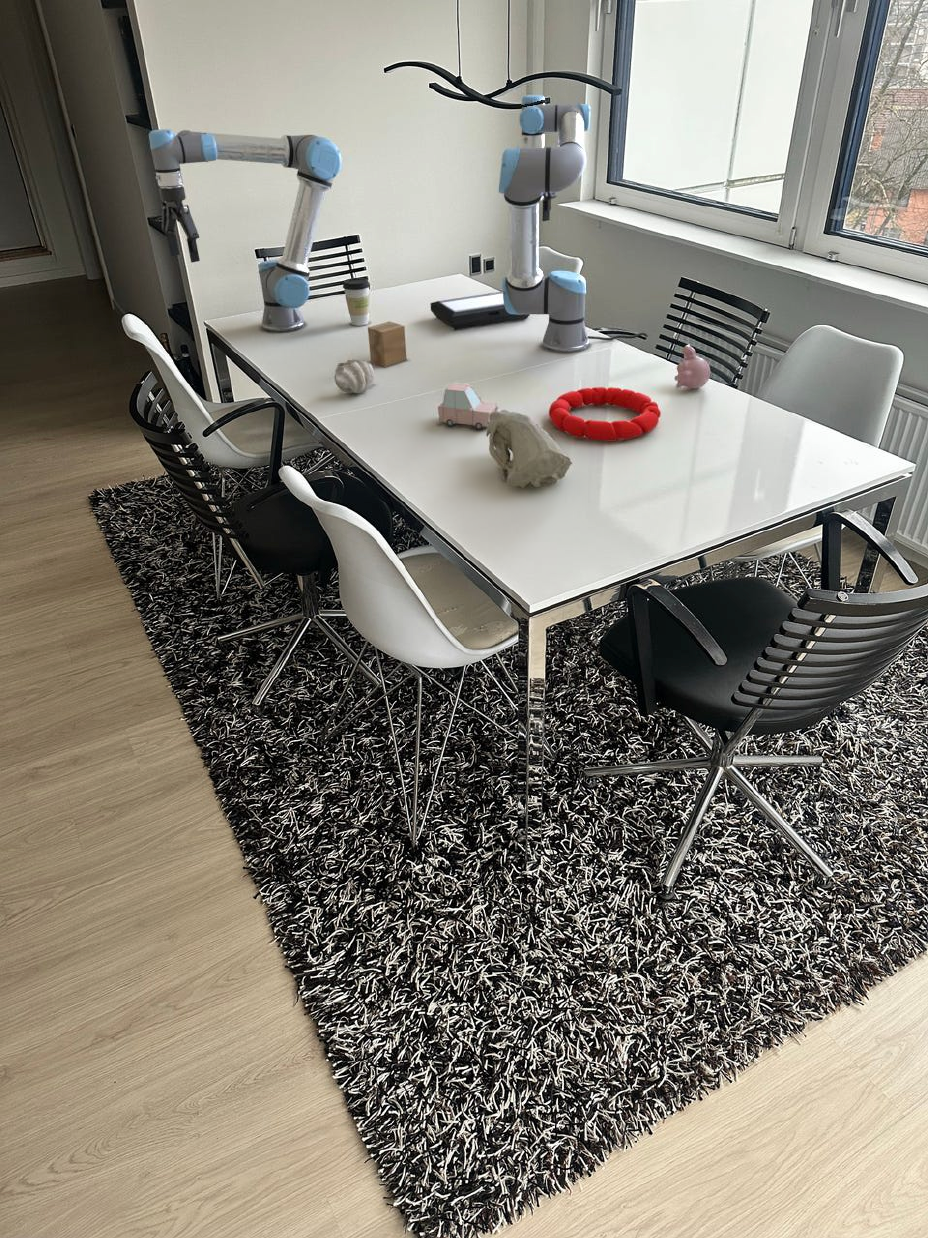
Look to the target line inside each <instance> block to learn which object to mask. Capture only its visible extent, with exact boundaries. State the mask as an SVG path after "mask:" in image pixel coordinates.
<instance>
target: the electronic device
mask: <svg viewBox="0 0 928 1238" xmlns="http://www.w3.org/2000/svg"><path fill="white" fill-rule="evenodd" d="M430 311H431V313H432V314H433V315H434V317H435V318H436V319H437V320H439V322H442V323H444V324H445V325H447V326H448V327H450V328H451V329H453V331H457V330H463V329H471V328H476V327H483V326H489V325H496V324H501V323H507V322H515V321H521V320H526V319H528V318H529V317H530V315H531V314H521V315H517V314H510V313H508V312H507V311H506V309H505V306H504V301H503V290H502V291H496V292H489V293H483V294H477V295H468V296H463V297H456V298H450V299H443V300H436V301H433V302H430Z"/></svg>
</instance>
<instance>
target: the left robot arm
mask: <svg viewBox="0 0 928 1238" xmlns="http://www.w3.org/2000/svg"><path fill="white" fill-rule="evenodd" d="M148 139H149V146H150V147H149V148H150V152H151V155H152V162H153V166H154V170H155V175H156V176H155V179H156V180H157V185H158V186H159V189H158V192H159V197H160V200H161V202H160V205H161V231H162V232H164V233H165V235H166V238H167V239H166V240H167V243H168V249H169V253H170V256H171V257H175V256H180V251H179V245H178V240H177V235H176V231H175V227H176V222H178V223H179V224H180V227H181V228H182V230H183V232H184V234H185V236H186V239H185V240H186V243H187V249H188V254H189V259H190V263H191V264H192V263H196V262H200V255H199V249H198V244H197V239H200V234H199V232H198V229H197V226H196V224H195V222H194V219H193V217H192V214H191V211H190V206H189V205H188V204H185V205H184V203H183V201H185V200H186V198H187V196H186V191H185V187H184V186H183V184H184V180H183V175H182V174H183V173H182V170H181V166H180V165H185V164H193V163H197V164H198V163H210V162H215V161H216V160H220V161H233V162H234V161H235V162H246V163H247V162H251V163H263V164H274V165H275V164H276V165H281V166H283V168H285V169H286V168H288V169H295V170H297V172H296V178H297V180H298V183H299V185H298V189H297V194H296V198H295V202H294V206H293V210H292V215H291V219H290V223H289V227H288V232H287V237H286V239H285V245H284V248H283V253H282V257H280V258H279V259H271V260H265V261H260V263H259V264H258V275H259V279H260V287H261V292H262V293H261V294H262V299H263V313H262V319H261V326H262V330H264V331H265V332H271V333H286V332H293V331H296V330H297V331H298V330H300V329H302V328H304V326H305V319H304V317H303V314H302V312H301V310H300V307H302V306H303V305H305V304H306V302H307V301H308V300H309V297H310V293H311V291H310V285H309V278H310V274H311V270H310V268H309V267H308V266H309V264H308V263H309V259H310V255H311V251H312V248H313V243H314V240H315V235H316V231H317V227H318V223H319V219H320V214H321V210H322V206H323V203H324V199H325V195H326V192H327V191H329V190H331V189H332V186H333V183H334V178H336V177H337V176H338V174H339V173H340V172H341V169H342V163H343V162H342V161H343V159H342V154H341V152H340V150H339V147H337V145H336V144H335V143H334V142H333V141H332V140H330V139H328V138H326V137H322V136H317V135H315V134H302V135H301V134H300V135H287V134H284V135H282V136H281V137H269V136H255V135H242V134H231V133H230V134H229V133H228V134H227V133H215V132H201V131H191V130H188V129H183V130H180V131H179V132H177V133H176V135H175V133H174V131H173V130H172V129H170V128H169V129H168V128H166V129H154V130H151V131H149V133H148Z"/></svg>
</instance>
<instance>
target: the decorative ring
mask: <svg viewBox="0 0 928 1238" xmlns="http://www.w3.org/2000/svg"><path fill="white" fill-rule="evenodd" d="M583 405H584V406H586V407H587V406H591V405H593V406H604V405H608V406H614V407H619V408H624V409H628V410H632V411H635V412H636V413H638V414H639V415H637V416H635V417H632V418H631V419H630V420H625V419H624V420H623V419H622V420H614V421H611V422H609V421H607V420H606V421H605V420H593V419H587V420H586V421H585V419H584V418H582V417H579V416H577V415H573V414H571V413H570V410H571V409H579V408H581V407H582V406H583ZM548 416H549V419H550V422H551V423H552V425H553V426H554V427H555V428H556V429H558V430H559V431H561V432H563V433H567V434H568V435H569V436H573V437H576V438H580V439H582V438H583V437H585V438H586V439H587V440H591V441H601V442H602V441H603V442H608V441H609V442H610V441H611V442H612V441H615V442H616V441H618V440H630V439H634V438H638V437H641V436H642V434H647V433H650V432H651V431H653V430H654V429H655V428H656V427H657V426H658V424H659V422H660V421H659V420H660V417H661V410H660V408H659V405H658V403H657V402H656V401H652V399H651V397H649V396H648V395H646V394H644V393H642V392H635V391H634V390H632V389H628V388H624V389H622V388H620V387H613V386H612V387H611V386H610V387H608V388H606V387H604V386H594V387H585V388H584V387H583V388H580V389H578V390H571V391H568V392H565V393H563V394H561V395H560V396H558V397H557V398H556V400H554V401H552V403H551V404H550V407H549V409H548Z"/></svg>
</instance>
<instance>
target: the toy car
mask: <svg viewBox="0 0 928 1238" xmlns="http://www.w3.org/2000/svg"><path fill="white" fill-rule="evenodd" d="M498 409H499V404H498V403H497V402H490V401H489V402H487V401H483V397H481V396H480V395H479V394H478V393H477V391H476V390H475V389H474V386H472V384H469V383H459V382H451V383H450V384H449V385H448V386H447V387H446V388H445V389H444V394H443V399H442V403H440V404H439V405H438V406H437V413H438V421H439V422H443V423H446V425H447V426H448V427H452V426H454V425H455V424H461V425H469V426H473V427H475V429H476V430H479V431H480V430H481V429H483V428H485V427H486V428H487V423H488V422H490V414H491V413H492V412H496V411H499V410H498Z"/></svg>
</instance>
